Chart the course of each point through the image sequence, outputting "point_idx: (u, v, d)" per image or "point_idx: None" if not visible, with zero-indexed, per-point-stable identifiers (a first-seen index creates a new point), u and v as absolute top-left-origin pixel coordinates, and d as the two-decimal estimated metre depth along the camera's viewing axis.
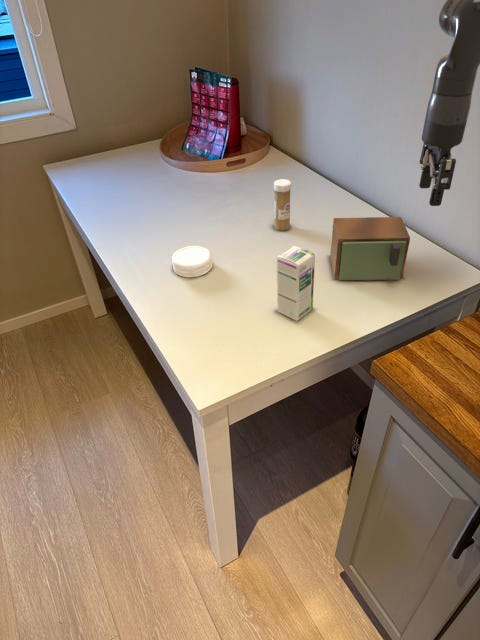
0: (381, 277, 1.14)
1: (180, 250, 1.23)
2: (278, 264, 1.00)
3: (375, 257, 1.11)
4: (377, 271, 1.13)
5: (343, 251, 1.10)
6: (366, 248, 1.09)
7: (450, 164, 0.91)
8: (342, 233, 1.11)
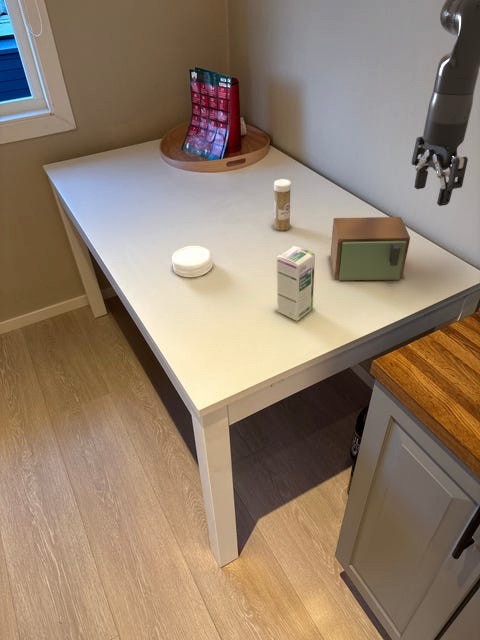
0: (381, 277, 1.14)
1: (180, 250, 1.23)
2: (278, 264, 1.00)
3: (375, 257, 1.11)
4: (377, 271, 1.13)
5: (343, 251, 1.10)
6: (366, 248, 1.09)
7: (463, 162, 0.90)
8: (342, 233, 1.11)
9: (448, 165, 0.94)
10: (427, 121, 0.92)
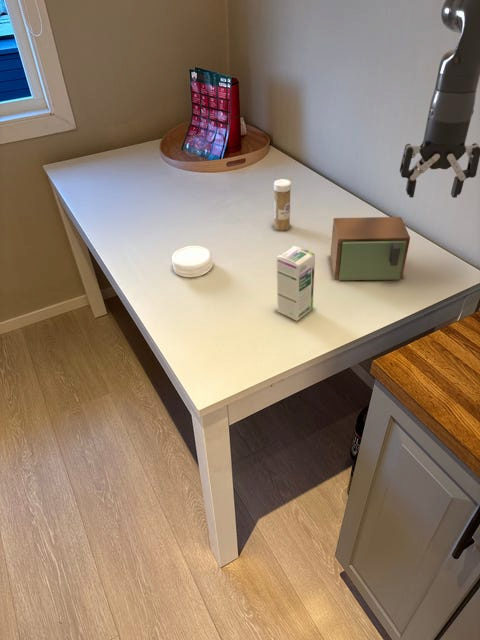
0: (381, 277, 1.14)
1: (180, 250, 1.23)
2: (278, 264, 1.00)
3: (375, 257, 1.11)
4: (377, 271, 1.13)
5: (343, 251, 1.10)
6: (366, 248, 1.09)
7: None
8: (342, 233, 1.11)
9: None
10: (448, 125, 0.88)
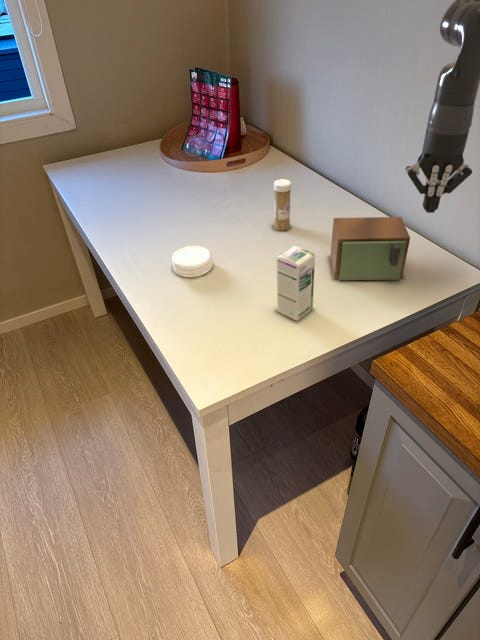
0: (381, 277, 1.14)
1: (180, 250, 1.23)
2: (278, 264, 1.00)
3: (375, 257, 1.11)
4: (377, 271, 1.13)
5: (343, 251, 1.10)
6: (366, 248, 1.09)
7: None
8: (342, 233, 1.11)
9: None
10: (448, 137, 0.88)
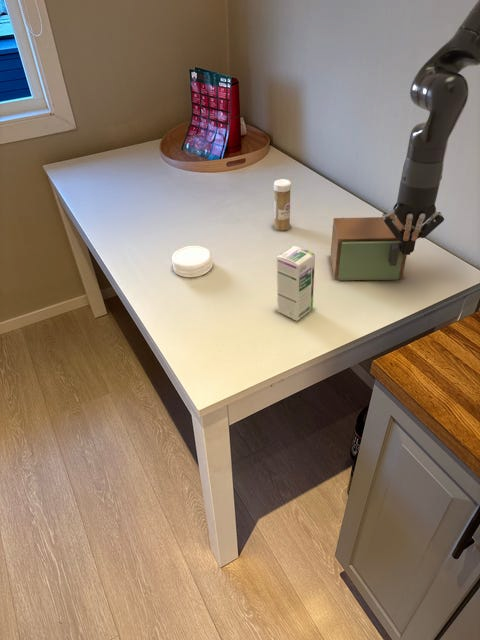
0: (380, 277, 1.14)
1: (180, 250, 1.23)
2: (278, 264, 1.00)
3: (374, 257, 1.11)
4: (376, 271, 1.13)
5: (342, 251, 1.10)
6: (365, 248, 1.09)
7: None
8: (342, 233, 1.11)
9: None
10: (419, 190, 0.95)
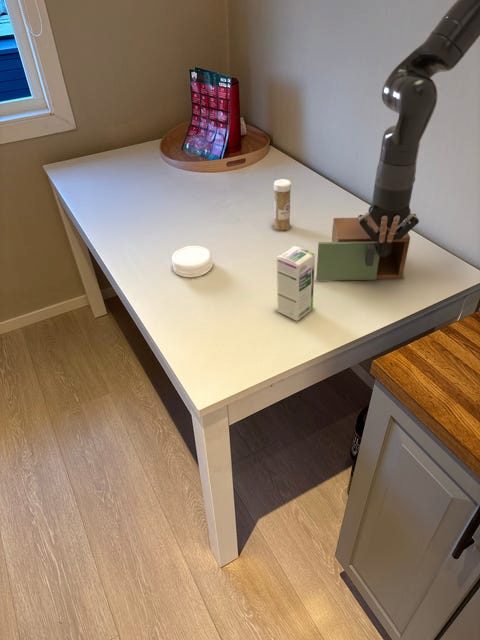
0: (358, 277, 1.14)
1: (180, 250, 1.23)
2: (278, 264, 1.00)
3: (351, 257, 1.11)
4: (353, 271, 1.13)
5: (319, 251, 1.10)
6: (342, 248, 1.10)
7: None
8: (342, 233, 1.11)
9: None
10: (393, 192, 0.95)
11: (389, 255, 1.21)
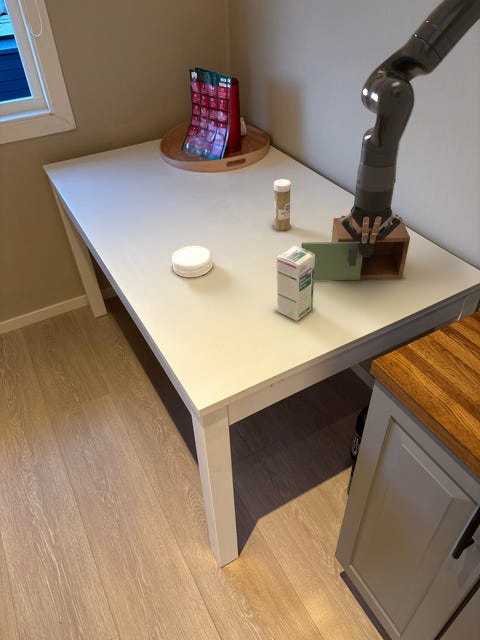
0: (341, 277, 1.15)
1: (180, 250, 1.23)
2: (278, 264, 1.00)
3: (334, 258, 1.11)
4: (337, 271, 1.14)
5: None
6: (325, 249, 1.10)
7: None
8: (342, 233, 1.11)
9: None
10: (373, 194, 0.96)
11: (389, 255, 1.21)
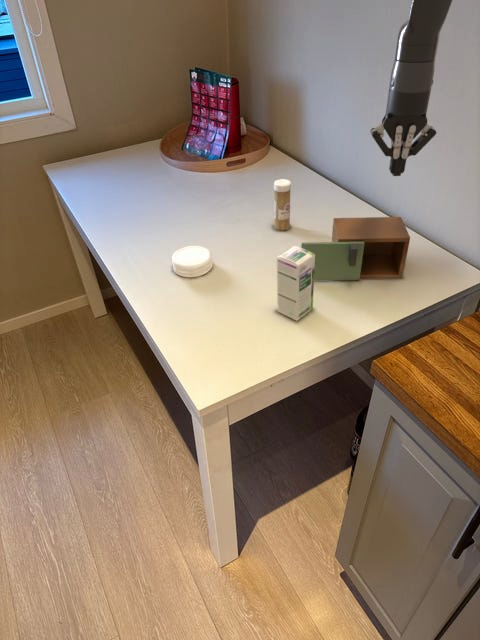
0: (341, 277, 1.15)
1: (180, 250, 1.23)
2: (278, 264, 1.00)
3: (334, 258, 1.11)
4: (337, 271, 1.14)
5: None
6: (325, 249, 1.10)
7: None
8: (342, 233, 1.11)
9: None
10: (409, 95, 0.88)
11: (389, 255, 1.21)
